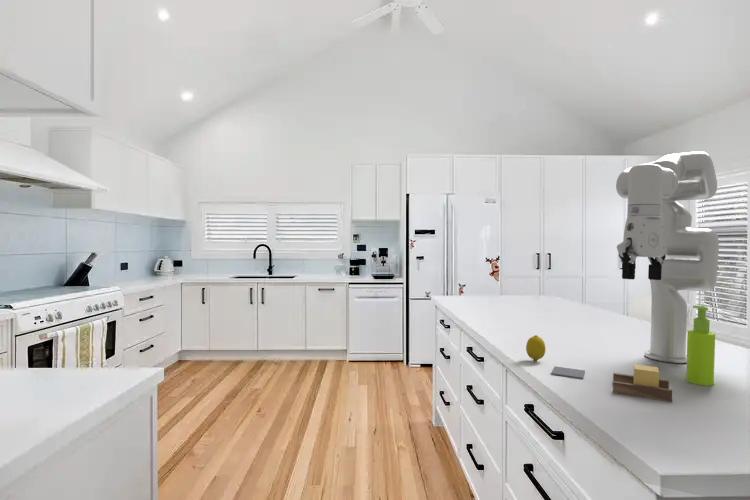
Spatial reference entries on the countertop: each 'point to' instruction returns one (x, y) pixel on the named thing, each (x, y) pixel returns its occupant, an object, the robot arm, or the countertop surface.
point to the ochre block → (646, 375)
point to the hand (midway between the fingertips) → (641, 279)
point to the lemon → (535, 348)
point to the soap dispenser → (700, 351)
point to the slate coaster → (568, 372)
